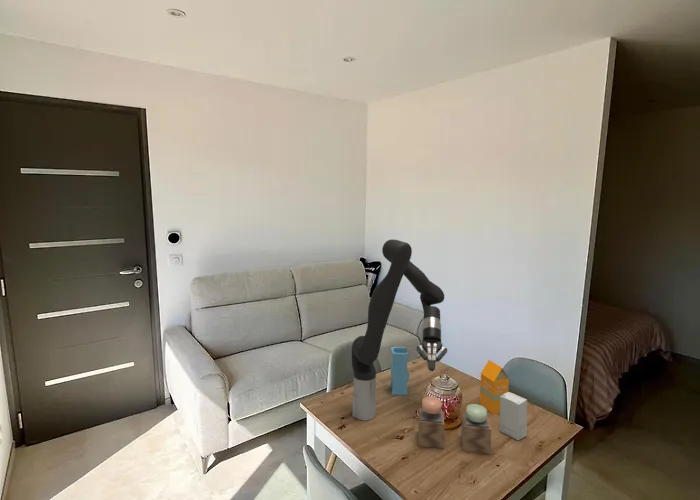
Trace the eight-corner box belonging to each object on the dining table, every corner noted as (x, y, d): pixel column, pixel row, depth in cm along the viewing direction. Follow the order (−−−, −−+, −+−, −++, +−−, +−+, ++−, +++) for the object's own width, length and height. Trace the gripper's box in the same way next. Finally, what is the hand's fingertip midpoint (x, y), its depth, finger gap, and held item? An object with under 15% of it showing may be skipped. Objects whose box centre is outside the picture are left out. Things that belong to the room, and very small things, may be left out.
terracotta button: (421, 412, 139) (422, 405, 139) (422, 402, 146) (422, 395, 146) (441, 414, 138) (441, 407, 138) (440, 404, 145) (441, 397, 144)
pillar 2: (463, 451, 137) (464, 425, 136) (461, 436, 146) (462, 411, 145) (489, 454, 135) (491, 428, 134) (485, 438, 144) (487, 414, 143)
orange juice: (493, 401, 171) (496, 358, 169) (507, 411, 163) (510, 366, 160) (479, 403, 169) (481, 360, 166) (492, 414, 160) (494, 369, 158)
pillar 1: (418, 445, 140) (418, 420, 139) (418, 431, 149) (419, 407, 148) (443, 448, 138) (444, 423, 137) (442, 434, 147) (443, 409, 146)
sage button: (467, 421, 136) (467, 413, 136) (465, 410, 143) (465, 403, 143) (488, 423, 135) (488, 415, 135) (484, 412, 142) (485, 405, 142)
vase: (408, 395, 176) (409, 353, 174) (391, 395, 176) (392, 353, 174) (406, 386, 184) (407, 347, 182) (390, 386, 184) (390, 347, 182)
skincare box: (526, 436, 146) (529, 399, 144) (517, 441, 142) (519, 404, 140) (507, 425, 153) (509, 390, 151) (497, 430, 149) (499, 394, 147)
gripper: (416, 325, 160) (414, 365, 149) (448, 327, 157) (449, 368, 147) (415, 333, 166) (414, 372, 155) (447, 335, 163) (448, 375, 153)
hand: (431, 370), depth 151 cm, fingers closed
